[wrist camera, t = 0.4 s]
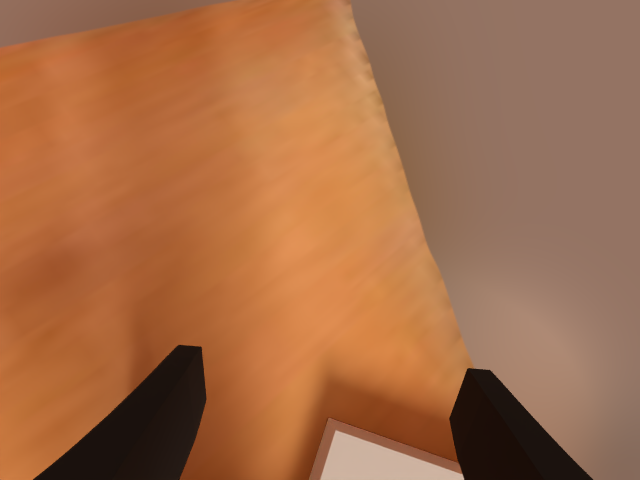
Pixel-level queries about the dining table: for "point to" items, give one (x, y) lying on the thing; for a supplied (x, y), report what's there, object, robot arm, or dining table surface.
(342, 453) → the socket block
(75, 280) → the dining table surface
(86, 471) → the robot arm
